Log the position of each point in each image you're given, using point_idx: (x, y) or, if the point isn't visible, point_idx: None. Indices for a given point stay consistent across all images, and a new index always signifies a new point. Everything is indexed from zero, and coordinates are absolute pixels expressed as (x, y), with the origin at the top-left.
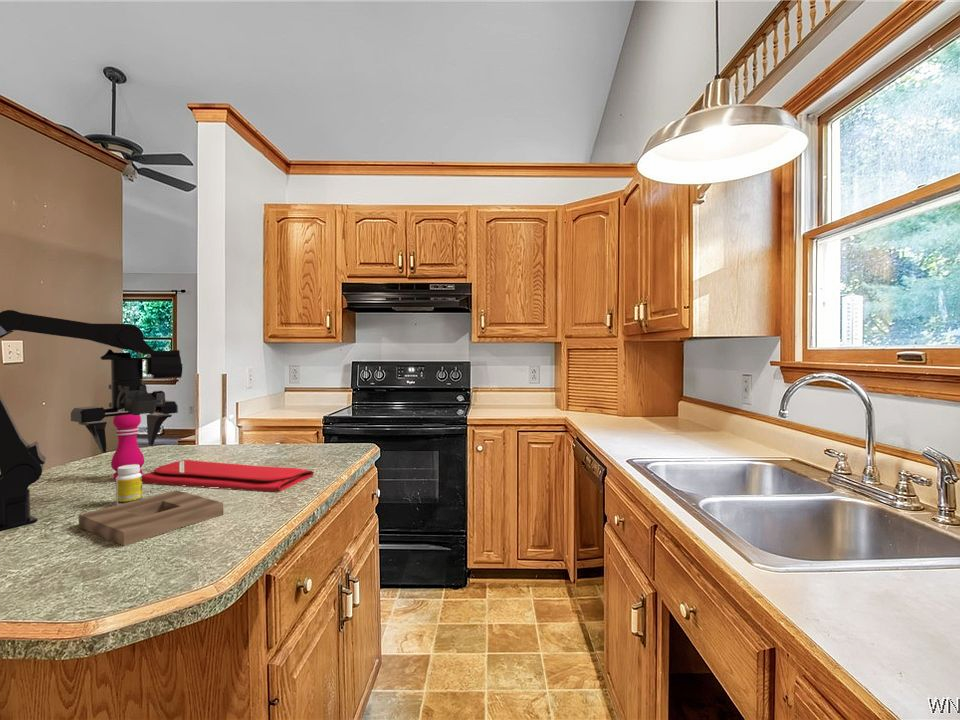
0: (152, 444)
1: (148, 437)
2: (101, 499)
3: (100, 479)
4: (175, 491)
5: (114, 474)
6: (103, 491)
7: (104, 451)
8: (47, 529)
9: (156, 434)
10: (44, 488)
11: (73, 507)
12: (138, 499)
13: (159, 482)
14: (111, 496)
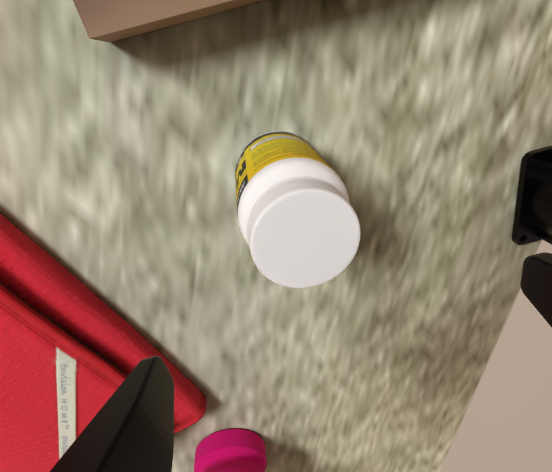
0: (144, 361)
1: (164, 461)
2: (331, 286)
3: (287, 469)
4: (96, 11)
5: (265, 463)
6: (306, 364)
7: (548, 255)
8: (547, 24)
9: (60, 465)
10: (392, 454)
11: (407, 250)
12: (253, 141)
13: (157, 353)
14: (302, 300)
